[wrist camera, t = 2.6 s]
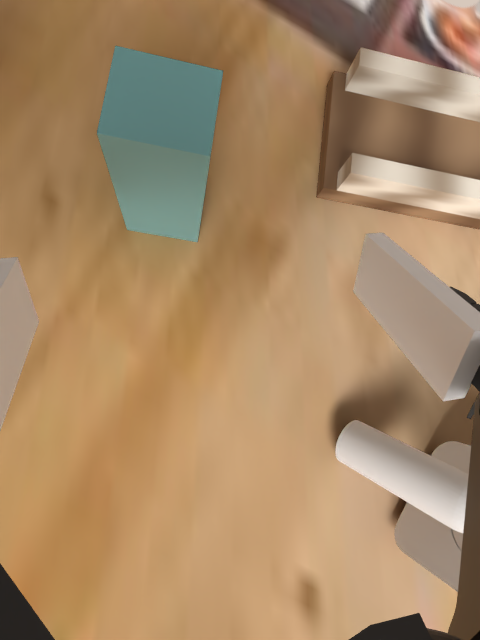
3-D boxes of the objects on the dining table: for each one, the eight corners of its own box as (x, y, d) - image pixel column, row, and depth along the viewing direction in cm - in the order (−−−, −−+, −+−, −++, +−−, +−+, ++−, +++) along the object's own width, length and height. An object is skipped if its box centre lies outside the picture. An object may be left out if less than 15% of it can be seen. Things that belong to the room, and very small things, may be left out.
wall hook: (359, 379, 28) (491, 404, 19) (448, 452, 31) (602, 507, 22) (300, 480, 27) (413, 563, 17) (400, 549, 29) (545, 653, 20)
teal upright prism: (127, 229, 28) (96, 133, 17) (137, 172, 29) (115, 45, 18) (197, 242, 29) (210, 156, 18) (206, 185, 30) (223, 70, 19)
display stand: (316, 197, 31) (336, 169, 27) (327, 84, 33) (347, 44, 29) (479, 229, 33) (520, 208, 29) (481, 121, 34) (520, 87, 31)
